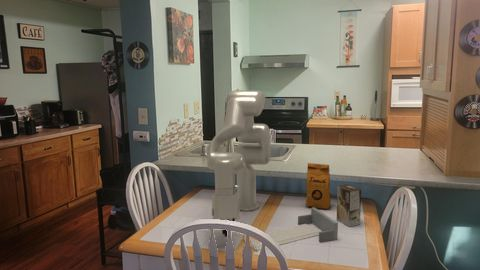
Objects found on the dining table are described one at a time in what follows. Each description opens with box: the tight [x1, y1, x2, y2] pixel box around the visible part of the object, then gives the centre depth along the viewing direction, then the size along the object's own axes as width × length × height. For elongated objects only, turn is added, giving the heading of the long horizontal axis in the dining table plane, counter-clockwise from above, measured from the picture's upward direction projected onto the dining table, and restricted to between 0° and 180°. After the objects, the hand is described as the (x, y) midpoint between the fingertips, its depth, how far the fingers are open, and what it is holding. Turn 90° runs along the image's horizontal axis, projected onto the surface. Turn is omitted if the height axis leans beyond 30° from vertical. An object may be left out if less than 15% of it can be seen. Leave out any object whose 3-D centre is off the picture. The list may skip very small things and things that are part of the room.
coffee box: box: [336, 184, 362, 228], centre depth 161 cm, size 9×6×16 cm
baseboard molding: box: [242, 224, 320, 253], centre depth 147 cm, size 31×3×12 cm
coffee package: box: [305, 162, 332, 210], centre depth 180 cm, size 10×12×22 cm
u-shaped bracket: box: [297, 207, 339, 243], centre depth 152 cm, size 18×8×7 cm, turn 19°
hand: (226, 234), depth 140 cm, fingers closed
